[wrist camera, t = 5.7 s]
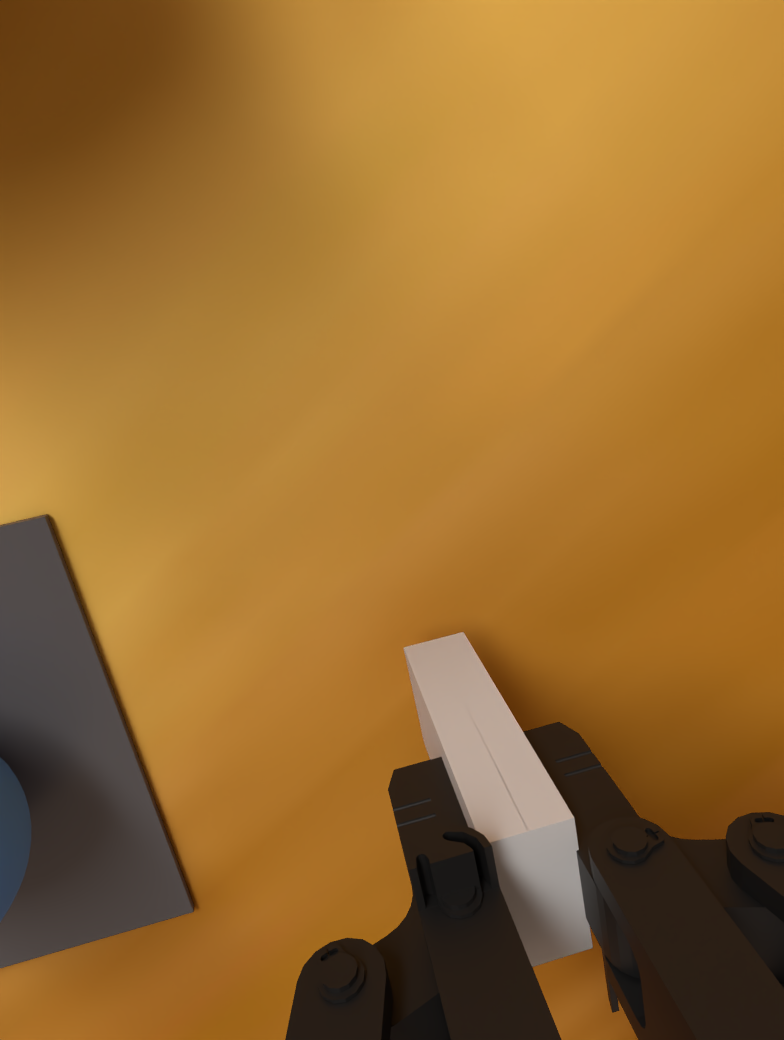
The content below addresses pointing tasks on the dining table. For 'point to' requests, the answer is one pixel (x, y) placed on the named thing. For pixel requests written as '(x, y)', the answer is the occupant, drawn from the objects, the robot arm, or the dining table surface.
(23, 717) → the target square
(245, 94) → the dining table surface
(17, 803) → the ball
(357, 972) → the robot arm
